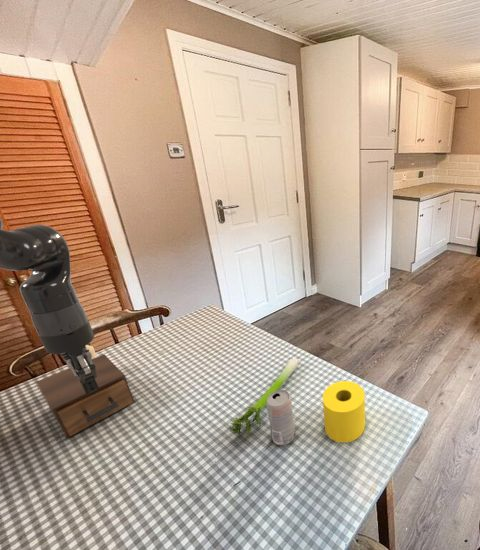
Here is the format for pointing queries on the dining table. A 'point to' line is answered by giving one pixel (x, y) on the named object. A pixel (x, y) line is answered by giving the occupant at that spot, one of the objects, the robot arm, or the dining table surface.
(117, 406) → the drawer
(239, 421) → the celery stalk
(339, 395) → the yellow toilet paper roll
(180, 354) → the dining table surface
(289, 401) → the energy drink
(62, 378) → the cabinet
